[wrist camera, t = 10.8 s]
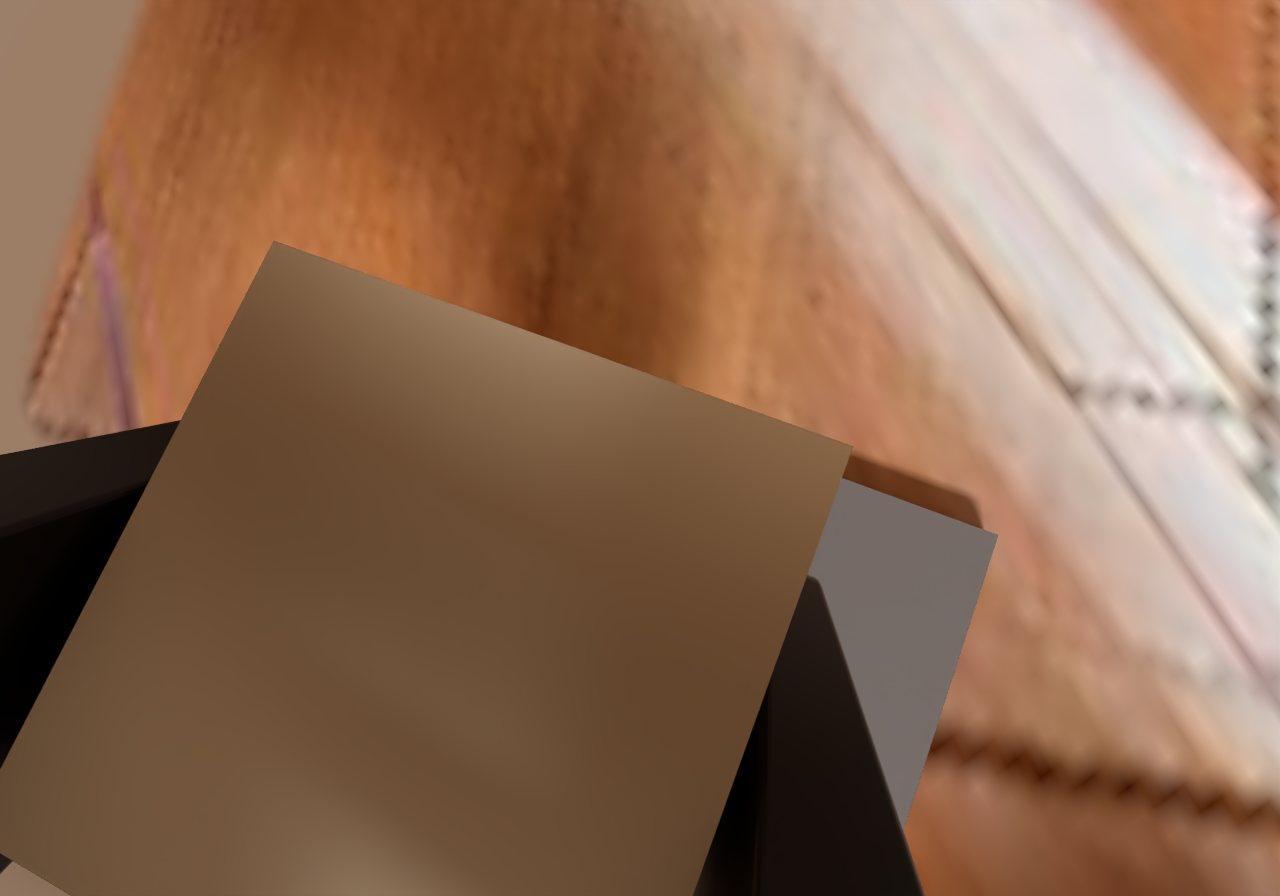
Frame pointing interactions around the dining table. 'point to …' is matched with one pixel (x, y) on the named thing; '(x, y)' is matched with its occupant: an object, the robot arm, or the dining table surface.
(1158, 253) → the dining table surface
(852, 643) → the grey railed tray
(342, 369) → the birch block
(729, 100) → the dining table surface
